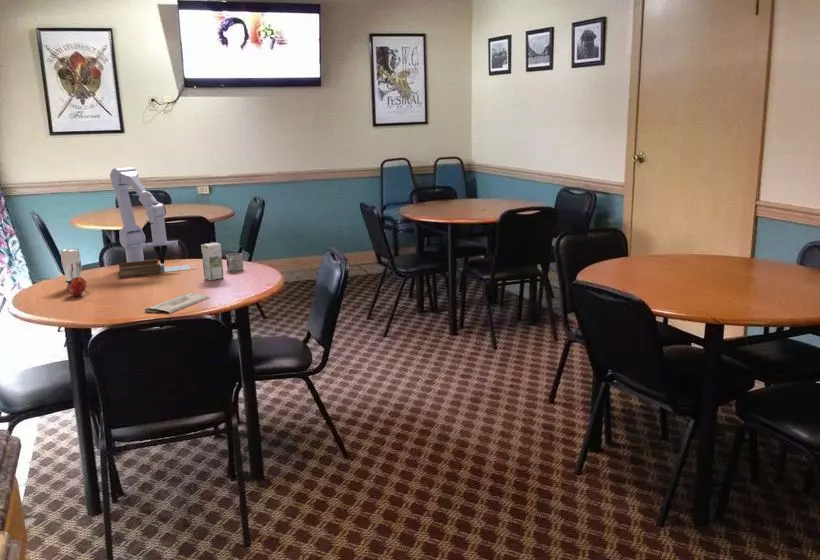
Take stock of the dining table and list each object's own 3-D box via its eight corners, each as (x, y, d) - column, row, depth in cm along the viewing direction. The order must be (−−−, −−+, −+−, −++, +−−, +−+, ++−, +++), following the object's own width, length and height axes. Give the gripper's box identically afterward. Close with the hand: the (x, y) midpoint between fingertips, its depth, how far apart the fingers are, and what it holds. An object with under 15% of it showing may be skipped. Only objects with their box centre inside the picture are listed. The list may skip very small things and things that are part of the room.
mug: (230, 268, 308) (228, 253, 306) (245, 268, 307) (243, 253, 306) (223, 273, 298) (221, 258, 296) (238, 273, 298) (237, 257, 296)
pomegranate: (84, 298, 274) (59, 286, 268) (94, 282, 274) (70, 270, 268) (86, 304, 268) (60, 292, 262) (97, 287, 268) (71, 275, 262)
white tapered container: (72, 285, 287) (66, 248, 284) (88, 285, 286) (82, 248, 283) (61, 289, 280) (56, 251, 277) (78, 289, 279) (72, 251, 276)
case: (119, 272, 309) (118, 263, 308) (158, 268, 315) (157, 259, 314) (120, 277, 297) (119, 268, 296) (160, 273, 303) (159, 264, 302)
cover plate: (159, 269, 314) (158, 263, 313) (194, 265, 320) (194, 259, 319) (161, 274, 304) (160, 267, 304) (197, 270, 310) (196, 263, 309)
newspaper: (182, 297, 261) (182, 291, 261) (210, 302, 257) (210, 296, 257) (138, 313, 241) (138, 306, 240) (168, 319, 237) (168, 312, 236)
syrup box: (216, 276, 292) (213, 241, 289) (224, 278, 288) (220, 243, 285) (204, 279, 288) (200, 244, 285) (211, 281, 284) (207, 245, 281)
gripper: (141, 235, 299) (145, 266, 303) (177, 231, 305) (180, 262, 308) (140, 233, 306) (144, 263, 309) (175, 229, 311) (179, 260, 314)
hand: (162, 263), depth 309 cm, fingers closed
